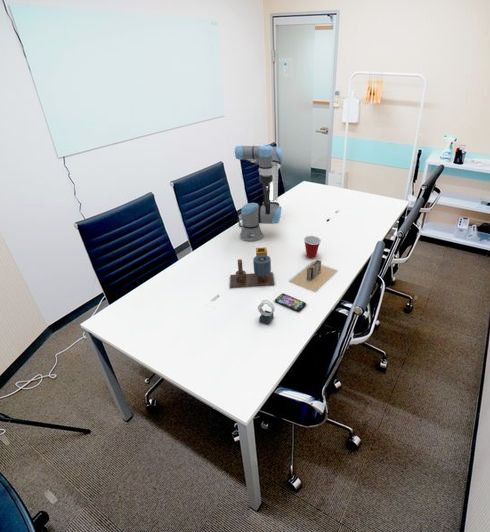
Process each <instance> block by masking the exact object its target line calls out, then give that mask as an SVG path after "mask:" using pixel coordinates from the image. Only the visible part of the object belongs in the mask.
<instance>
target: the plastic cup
mask: <svg viewBox="0 0 490 532" xmlns="http://www.w3.org/2000/svg"><path fill="white" fill-rule="evenodd" d="M303 242H304V247H305V254H306V257H307V258H308V259H315V258H316V257H317V253H318V250H319V247H320V244H321V243H322V239H321V238H320V237H319V236H314V235H306V236H305V237H303Z"/></svg>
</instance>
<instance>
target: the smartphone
mask: <svg viewBox="0 0 490 532" xmlns="http://www.w3.org/2000/svg"><path fill="white" fill-rule="evenodd" d="M274 302H275V303H277V304H279V305H282V306H283V307H286V308H288V309H291V310H293V311H295V312H301V311H302V310H303V308H305V307H306V305H307V303H306V302H305V301H302V300H301V299H299V298H296V297H293V296H291V295H289V294H286V293H281V294H280V295H278V296H277V297H276V298H275V299H274Z"/></svg>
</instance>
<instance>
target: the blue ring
mask: <svg viewBox="0 0 490 532" xmlns="http://www.w3.org/2000/svg"><path fill="white" fill-rule="evenodd" d="M260 258H264V261H260ZM252 260H253V273H255V274H256V275H258V276H266V275H268V274H270V272H272V261H271V257H270V256H269V255H268V254H267V255H258V256H256V255H255V256H254V257H253V259H252Z"/></svg>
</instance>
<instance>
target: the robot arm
mask: <svg viewBox="0 0 490 532" xmlns="http://www.w3.org/2000/svg"><path fill="white" fill-rule="evenodd" d="M234 156H235V159H236V160H240V161H241V160H242V161H243V160H246V161H248V162H249V163H252V164H256V165H258V169H257V171H258V173H259V182H260V183H261V184H262V189H263V191H262V192H263V202H261V203H262V205H259V203H257V202H249V203H245V204H243V205H242V207H241V211H240V212H241V213H240V214H241V221H240V220H239V219H236V222H238V223H239V227H241V231H240V239H242V240H243V241H245V242H256V241H259V240H260V239H262V238H263V232H262V228H261V226H260V224H261V225H262V224H265V225H266V224H267V225H275V224H276V225H278V224H279V223H280V221H281V217H282V206H280V203H279V202H278V192H279V191H278V190H279V189H278V188H279V187H278V186H279V169H280V168H281V166H282V165H283V164H284V163H283V161H284V160H283V153H282V148H281V147H280V146H272V145H270V144H264V145H236V146H235V147H234ZM241 224H242V225H241Z"/></svg>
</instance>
